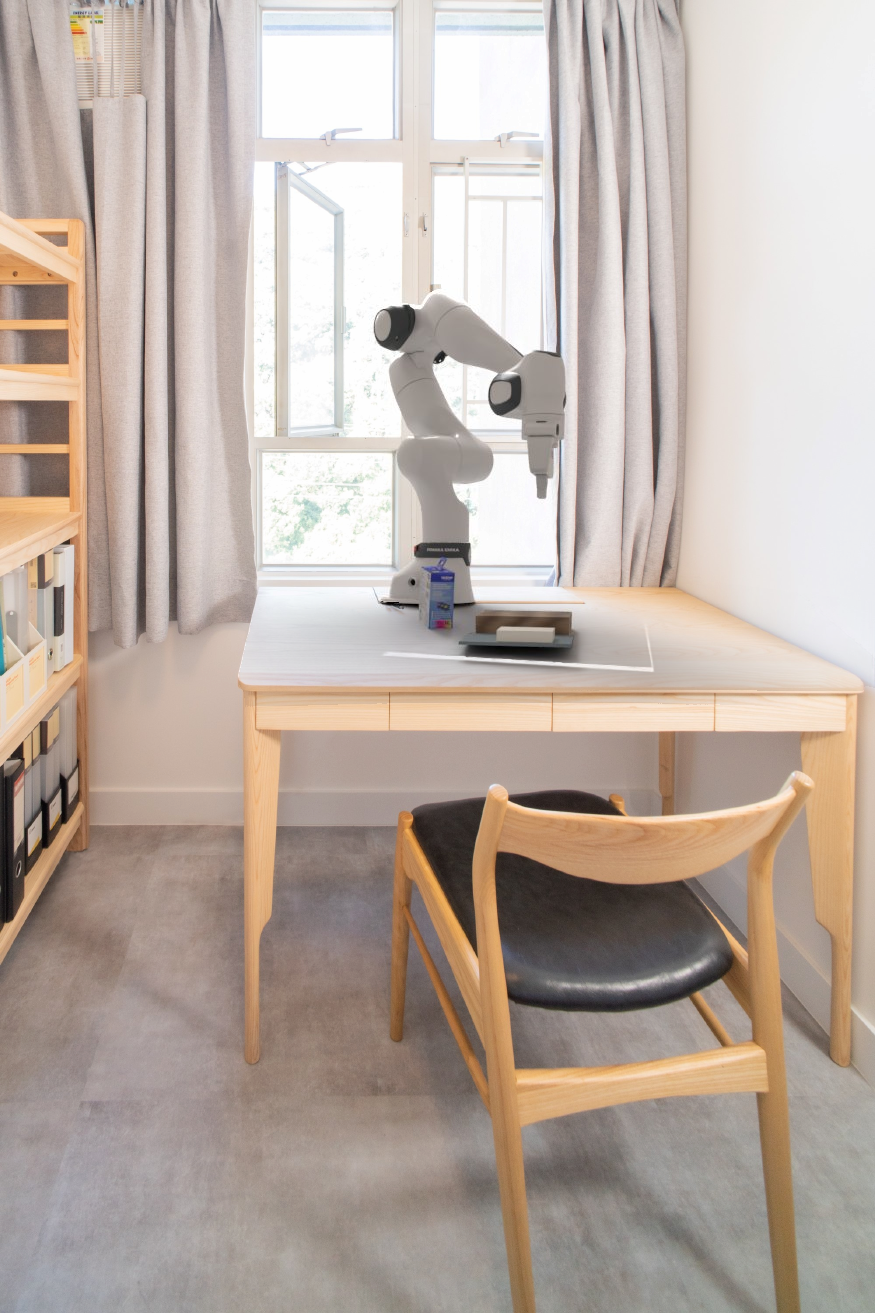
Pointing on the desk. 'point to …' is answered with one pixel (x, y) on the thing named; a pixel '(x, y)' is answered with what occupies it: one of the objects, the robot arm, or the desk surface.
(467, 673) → the desk surface
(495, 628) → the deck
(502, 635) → the white flat block
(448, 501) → the robot arm
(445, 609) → the ink cartridge box
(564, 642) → the mat
